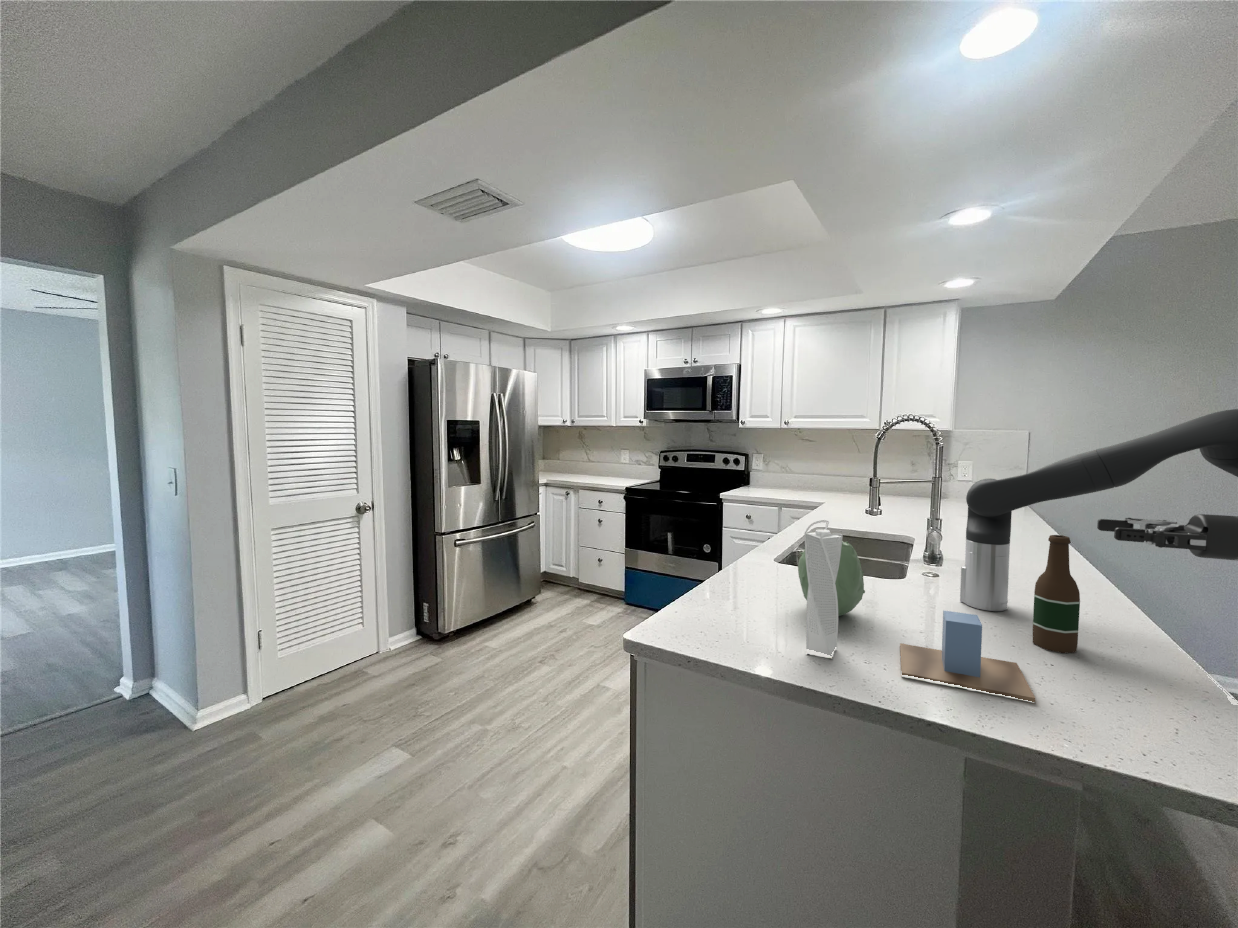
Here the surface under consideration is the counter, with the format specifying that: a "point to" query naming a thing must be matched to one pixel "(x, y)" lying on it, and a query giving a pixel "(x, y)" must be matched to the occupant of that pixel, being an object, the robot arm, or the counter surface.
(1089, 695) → the counter surface
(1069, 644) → the beer bottle
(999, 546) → the robot arm
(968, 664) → the pale blue tall block
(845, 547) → the cabbage
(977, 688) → the post stand
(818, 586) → the skyscraper
